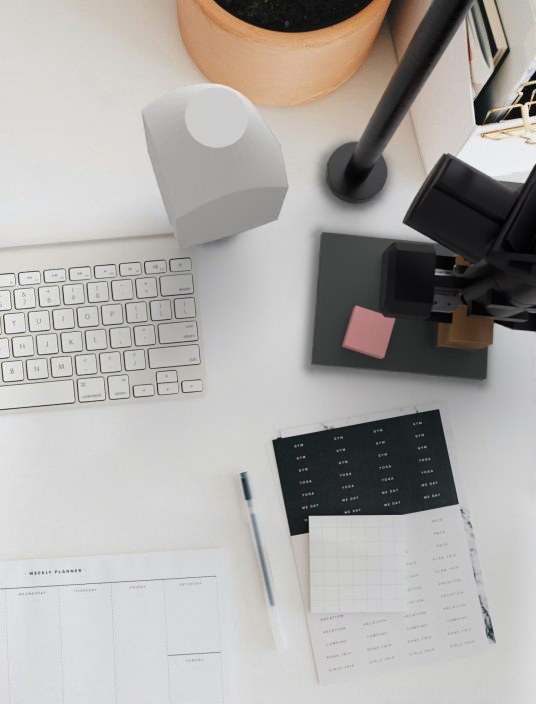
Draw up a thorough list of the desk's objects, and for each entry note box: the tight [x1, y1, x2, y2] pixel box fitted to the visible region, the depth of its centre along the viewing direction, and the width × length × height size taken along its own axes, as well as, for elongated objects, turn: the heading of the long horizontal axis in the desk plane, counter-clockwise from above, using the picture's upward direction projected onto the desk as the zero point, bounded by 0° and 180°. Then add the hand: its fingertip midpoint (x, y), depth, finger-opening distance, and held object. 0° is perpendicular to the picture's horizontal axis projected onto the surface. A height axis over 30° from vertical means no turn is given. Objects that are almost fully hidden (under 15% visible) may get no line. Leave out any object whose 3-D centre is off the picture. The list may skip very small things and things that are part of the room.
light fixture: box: [140, 82, 290, 249], centre depth 63 cm, size 9×9×20 cm
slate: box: [310, 231, 489, 381], centre depth 72 cm, size 17×13×1 cm
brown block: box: [432, 255, 495, 352], centre depth 70 cm, size 4×8×5 cm, turn 175°
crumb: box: [342, 306, 395, 359], centre depth 71 cm, size 4×4×1 cm
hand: (457, 308), depth 72 cm, fingers closed on brown block, 4 cm apart
